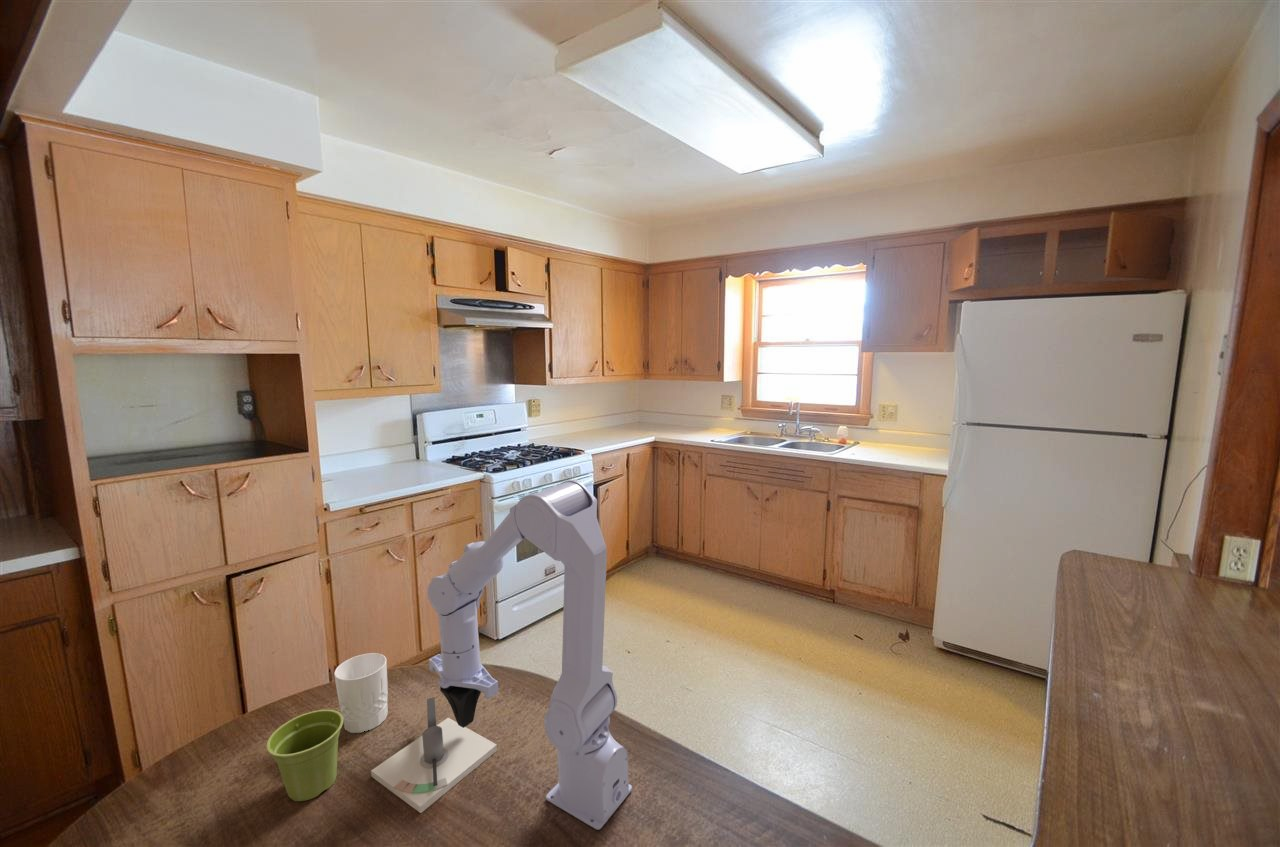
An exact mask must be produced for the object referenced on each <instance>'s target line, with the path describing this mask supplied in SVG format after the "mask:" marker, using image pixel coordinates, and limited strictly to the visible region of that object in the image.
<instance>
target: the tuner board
mask: <svg viewBox="0 0 1280 847" xmlns="http://www.w3.org/2000/svg"><path fill="white" fill-rule="evenodd" d="M436 726H439V727H441V728H442V735H443V748H444V756H443V758H442V759H441V760H439V761H438V762H436V768H437V786H434V785H433V763H431V764H429V763H426V762H425V761H424V750H423V738H422V735H421V736H419V737H418V738H416V739H415V740H414V741H412V742H410V743H409V744H408V745H406V746H405V747H403V748H402V749H400V750H399V751H397V752H396V753H394V754H393V755H392V756H390V757H388V758H387V759H385V760H384V761H383V762H382V763H380V764H378V765H377V766H375V767H374V768H373V769H370V774H371V775H370V776H371V778H372V779H374V780H375V781H377V782H378V783H380V785H382V786H383V787H385V788H386V789H387V790H389V791H390V792H391V793H393V795H395V796H397V797H398V798H400V799H401V800H402V801H404V802H405V803H406V804H408V806H410V807H412V808H413V809H414V810H416V811H417V812H418V813H420V814H422V813H423V812H424V811H426V809H428V808H430V806H431V805H433V804H434V803H435V802H436V801H437V800H439V799H440V798H442V796H443V795H446V793H447V792H448V791H450V790H451V789H452V788H453V787H454V786H456V785H458V783H460V782H461V781H462V780H463V779H464V778H466V777H467V776H468V775H469V774H470V773H472V772H473V771H475V769H476V768H478V767H479V766H480V765H482V763H484V762H485V761H486V760H488V759H489V758H490V757H491V756H492V755H493V754H495V753H496V752H497V751H498V744H497V743H494V742H493V741H491V740H489V739H488V738H486V737H485V736H482V735H480V734H478V733H477V732H475V731H473V730H472V729H470V728H468V727H467V726H466V727H464V728H463V727H461V726H459V725H458V723H457V721H456V720H453V719H451V718H450V717H447V718H446V719H444V720H442V721H441V722H439V723H438V724H436Z"/></svg>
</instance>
